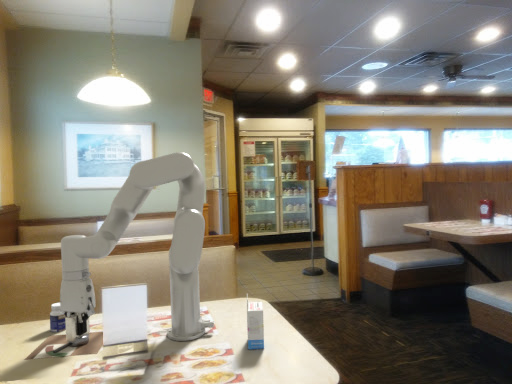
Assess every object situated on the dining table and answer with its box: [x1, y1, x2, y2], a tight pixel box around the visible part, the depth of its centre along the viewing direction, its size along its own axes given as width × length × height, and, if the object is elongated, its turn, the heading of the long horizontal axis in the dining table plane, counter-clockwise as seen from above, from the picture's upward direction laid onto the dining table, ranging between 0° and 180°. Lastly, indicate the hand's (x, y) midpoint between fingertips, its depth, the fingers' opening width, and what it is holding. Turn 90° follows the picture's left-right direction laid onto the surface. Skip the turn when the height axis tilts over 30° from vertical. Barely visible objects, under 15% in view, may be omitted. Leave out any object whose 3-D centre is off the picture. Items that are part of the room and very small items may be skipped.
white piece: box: [53, 313, 91, 353], centre depth 112 cm, size 12×6×9 cm, turn 161°
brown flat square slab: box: [23, 331, 104, 361], centre depth 115 cm, size 20×18×1 cm
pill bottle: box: [49, 301, 66, 333], centre depth 128 cm, size 6×6×10 cm
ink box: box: [246, 293, 265, 350], centre depth 114 cm, size 8×5×15 cm, turn 2°
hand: (78, 332), depth 115 cm, fingers closed on white piece, 2 cm apart
